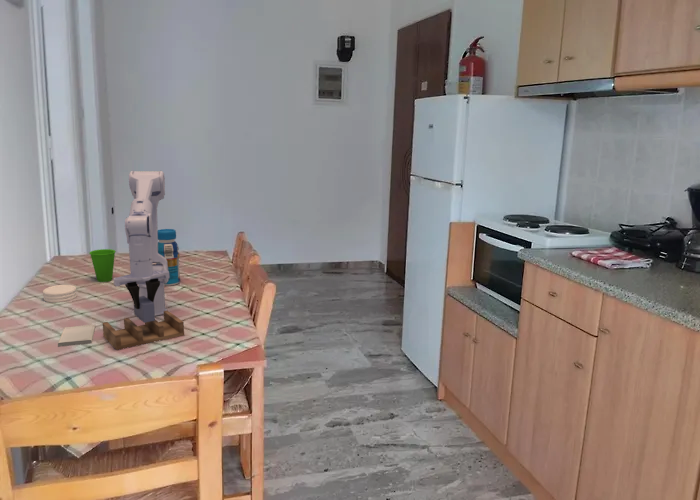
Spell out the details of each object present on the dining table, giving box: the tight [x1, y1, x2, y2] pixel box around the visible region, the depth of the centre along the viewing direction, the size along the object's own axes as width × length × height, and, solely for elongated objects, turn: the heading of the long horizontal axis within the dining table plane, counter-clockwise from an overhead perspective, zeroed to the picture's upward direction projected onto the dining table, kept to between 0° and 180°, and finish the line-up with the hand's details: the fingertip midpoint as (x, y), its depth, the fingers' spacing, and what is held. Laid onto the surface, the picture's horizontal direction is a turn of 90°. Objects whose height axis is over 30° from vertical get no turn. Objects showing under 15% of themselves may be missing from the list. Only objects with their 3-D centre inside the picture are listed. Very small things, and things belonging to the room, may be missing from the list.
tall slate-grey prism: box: [132, 296, 156, 324], centre depth 155 cm, size 8×3×5 cm, turn 39°
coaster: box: [42, 284, 78, 303], centre depth 187 cm, size 10×10×4 cm
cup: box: [89, 248, 117, 283], centre depth 208 cm, size 9×9×11 cm
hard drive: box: [57, 324, 96, 347], centre depth 154 cm, size 2×8×12 cm
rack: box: [102, 309, 185, 351], centre depth 156 cm, size 12×18×4 cm, turn 129°
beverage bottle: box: [155, 228, 181, 287], centre depth 205 cm, size 8×8×20 cm
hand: (143, 306), depth 154 cm, fingers closed on tall slate-grey prism, 3 cm apart
